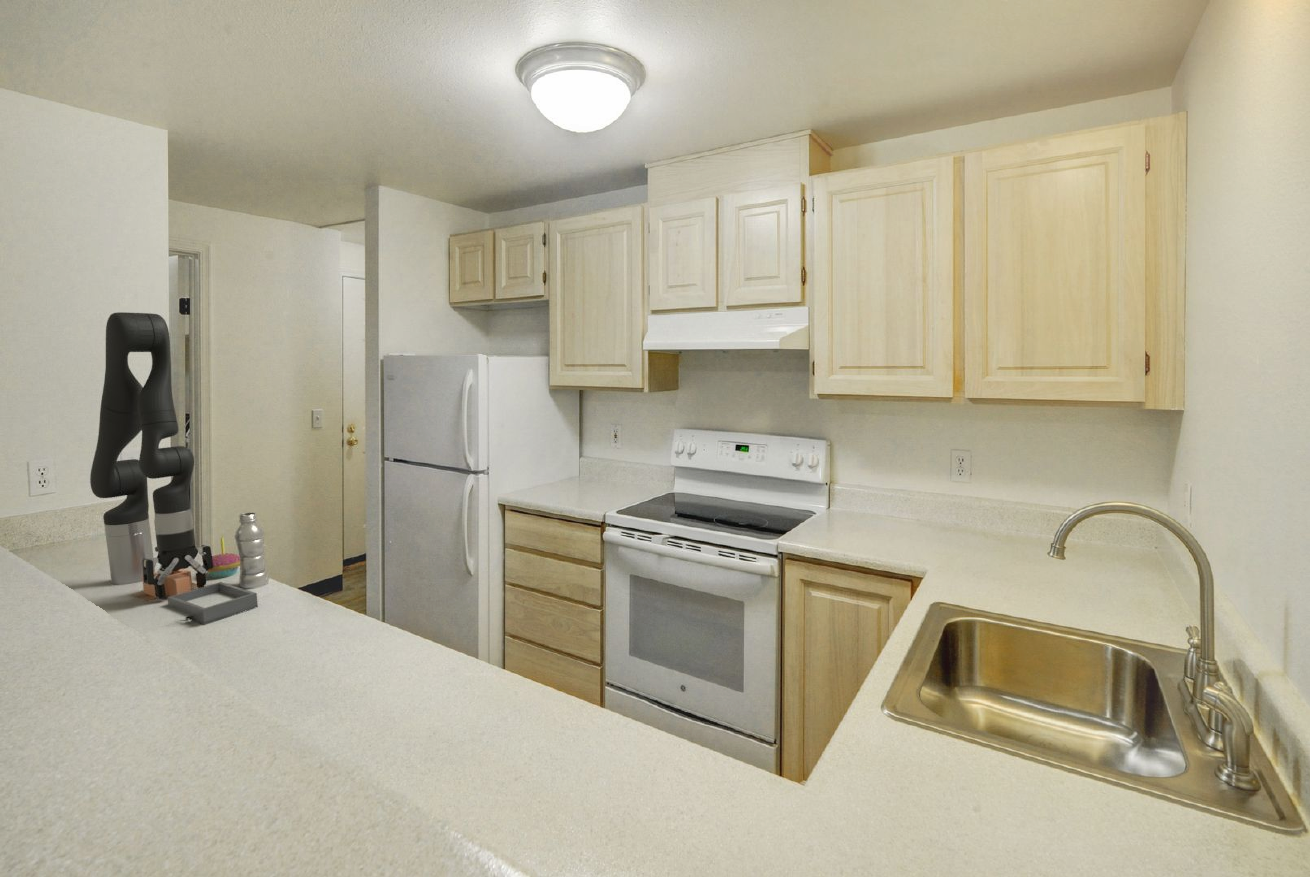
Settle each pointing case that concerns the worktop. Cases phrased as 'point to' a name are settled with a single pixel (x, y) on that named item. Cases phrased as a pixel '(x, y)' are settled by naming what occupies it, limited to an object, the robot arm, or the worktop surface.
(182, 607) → the tray
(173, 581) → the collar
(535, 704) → the worktop surface
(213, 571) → the cupcake
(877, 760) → the worktop surface
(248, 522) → the plastic bottle
